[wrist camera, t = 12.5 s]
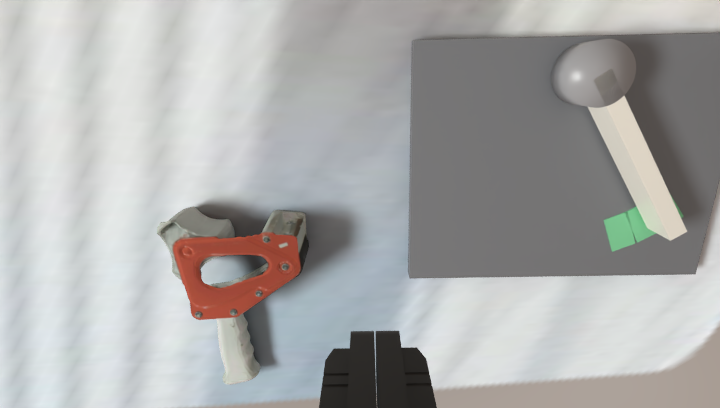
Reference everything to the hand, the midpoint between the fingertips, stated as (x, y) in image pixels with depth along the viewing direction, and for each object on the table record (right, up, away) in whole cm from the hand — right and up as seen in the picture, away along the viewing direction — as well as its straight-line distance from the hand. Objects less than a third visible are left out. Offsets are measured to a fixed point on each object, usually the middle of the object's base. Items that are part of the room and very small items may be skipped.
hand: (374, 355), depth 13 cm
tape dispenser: (-13, -3, +30) cm, 33 cm away
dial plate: (+18, +8, +25) cm, 32 cm away
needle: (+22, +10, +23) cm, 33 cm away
